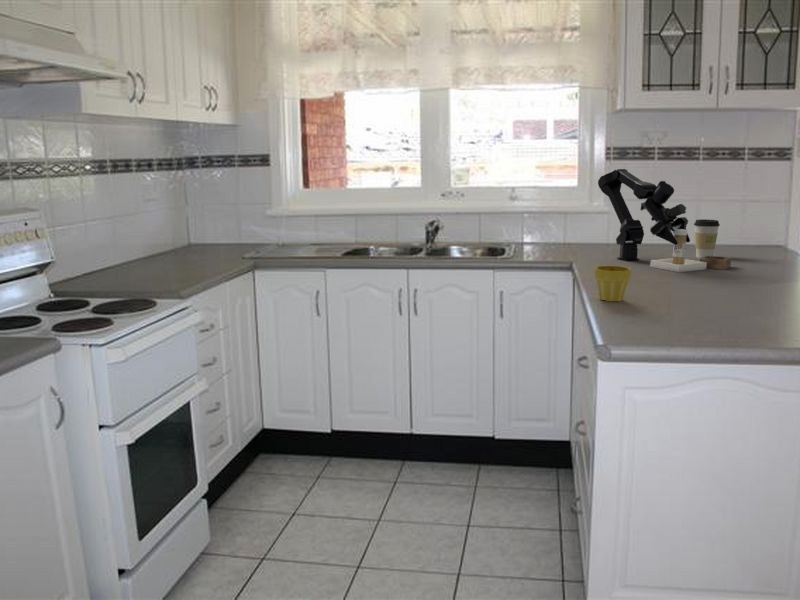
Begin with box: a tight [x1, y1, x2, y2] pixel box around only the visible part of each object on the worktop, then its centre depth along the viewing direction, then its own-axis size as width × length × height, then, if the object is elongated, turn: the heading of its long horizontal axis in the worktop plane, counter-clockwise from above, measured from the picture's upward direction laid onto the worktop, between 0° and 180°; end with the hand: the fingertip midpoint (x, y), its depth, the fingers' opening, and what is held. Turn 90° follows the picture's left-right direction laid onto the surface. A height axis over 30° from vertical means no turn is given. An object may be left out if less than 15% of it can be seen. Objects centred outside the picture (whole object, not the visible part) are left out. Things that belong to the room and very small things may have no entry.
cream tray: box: [649, 257, 707, 273], centre depth 290 cm, size 14×14×2 cm
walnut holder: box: [699, 255, 732, 271], centre depth 292 cm, size 9×9×4 cm
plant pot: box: [594, 264, 632, 302], centre depth 232 cm, size 10×10×10 cm
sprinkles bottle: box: [672, 229, 688, 265], centre depth 289 cm, size 5×5×13 cm
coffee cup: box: [693, 218, 721, 259], centre depth 316 cm, size 10×10×15 cm
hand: (683, 243), depth 288 cm, fingers open, 9 cm apart
